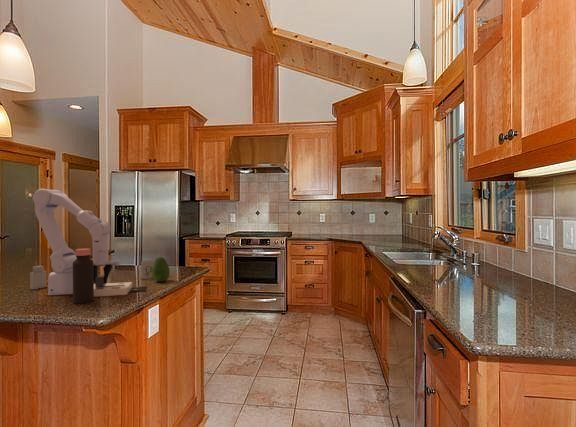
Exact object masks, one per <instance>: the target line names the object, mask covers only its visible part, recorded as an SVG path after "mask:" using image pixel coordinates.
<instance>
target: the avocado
mask: <svg viewBox="0 0 576 427" xmlns="http://www.w3.org/2000/svg"><path fill="white" fill-rule="evenodd" d="M154 260H155V262H154V265H153V268H152V276H153V278H152V279H154V280H155V281H156V282H158V283H159V282H160V283H164V282H166V281H167V280H168V279H169V277H170V274H171V273H170V267H169V265H168V264H169V263H168V262H167V260H166V259H165V258H164V256H163V257H162V256H159V257H157V258H155V259H154Z"/></svg>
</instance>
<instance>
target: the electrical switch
mask: <svg viewBox="0 0 576 427" xmlns="http://www.w3.org/2000/svg"><path fill="white" fill-rule="evenodd" d="M155 260H156V259H147V260H145V259H144V260H141V261H140V269H141V270H140V274H141V276H140V279H141V280H150V279H154V278H153V276H152V268H153V265H154V262H155Z"/></svg>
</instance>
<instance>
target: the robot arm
mask: <svg viewBox="0 0 576 427" xmlns="http://www.w3.org/2000/svg"><path fill="white" fill-rule="evenodd" d="M32 201H33V203H34V212H35V216H36V218H37V221H38V223H39V225H40V227H41V229H42V231H43V233H44V236H45V238H46V240H47V243H48V244H49V246H50V247H49V248H51V251H52V253H51V255H50V256H49V259H50V265H51V269H52V270H53V271H52V272H50V273H49V275H48V282H47V285H48V286H47V292H48V293H47V296H58V295H59V296H61V295H73V262H74V261H75V260H76V259H77V257H76V255H75V250H74V249H72V248H71V247H69V246H68V244H67V242H66V240H65V237H64V235H63V233H62V230H61V229H60V226H59V224H58V222H57V220H56V218H55V216H54V212H55V210H56V209H57V208H58V207H60V206H61V207H62V208H63V209H65V210H67V211H68V212H70V213H71V214H72V215H74V216H75V217H76V221H77V222H78V223H80V224H81V225H82V226H83V227H85V228H86V229H88V231H89V232H88V233H89V234H90V235H91V240H92V261H93V266H94V284H95V277H97V276H98V270H99V267H103V268H102V269H103V275H104V283H108V280H109V275H110V273H111V270H112V269H113V267H114V266H116V267H117V266H121V260H120V259H119V260H114V259H113V260H112V259H110V260H109V235H110V233H111V231H112V227H111V224H110V223H108V222H107V221H102V219H101V218H98V217H97V216H96V215H95V214H94V212H93V211H92V210H86V209H85V210H83V209H82V208H81V207H80V206H78V204H76V203H75V202H74V201H73V200H72V199H71V198H69V196H68V195H67V194H66V193H64V192H63V191H62V190H59V189H45V188H38V189H37V190H36V191H35V192H34V194H33V196H32Z"/></svg>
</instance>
